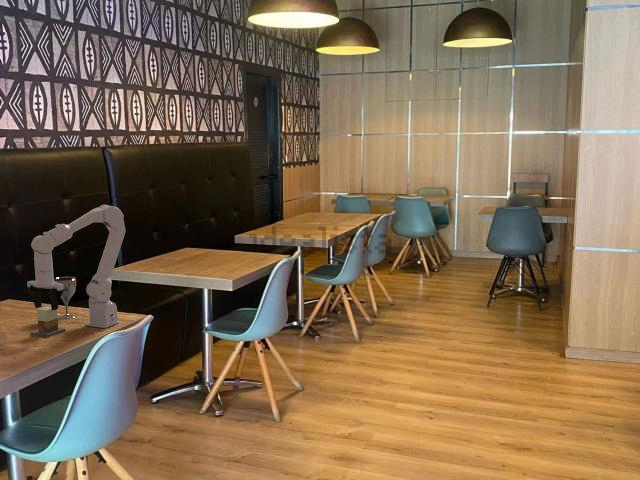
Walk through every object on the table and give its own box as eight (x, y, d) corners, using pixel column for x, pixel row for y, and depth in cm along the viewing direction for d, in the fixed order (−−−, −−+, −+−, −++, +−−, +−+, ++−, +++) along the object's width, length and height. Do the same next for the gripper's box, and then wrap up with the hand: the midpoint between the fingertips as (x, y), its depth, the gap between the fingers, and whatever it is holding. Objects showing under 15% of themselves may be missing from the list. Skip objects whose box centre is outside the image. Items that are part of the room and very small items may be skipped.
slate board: (65, 331, 224) (65, 328, 223) (47, 337, 216) (47, 334, 216) (48, 328, 227) (48, 326, 226) (30, 334, 219) (30, 332, 219)
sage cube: (57, 318, 222) (56, 307, 221) (47, 321, 218) (46, 310, 217) (47, 317, 224) (46, 306, 223) (37, 320, 220) (36, 309, 219)
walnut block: (58, 329, 223) (57, 318, 222) (48, 332, 219) (47, 321, 218) (48, 327, 224) (48, 316, 224) (38, 331, 220) (37, 320, 220)
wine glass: (51, 319, 240) (48, 280, 237) (64, 313, 247) (61, 276, 245) (70, 320, 238) (67, 281, 236) (82, 314, 246) (80, 277, 243)
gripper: (19, 270, 217) (21, 309, 219) (51, 274, 212) (53, 313, 214) (35, 267, 224) (38, 304, 226) (66, 270, 218) (69, 308, 220)
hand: (46, 308), depth 220 cm, fingers open, 7 cm apart
